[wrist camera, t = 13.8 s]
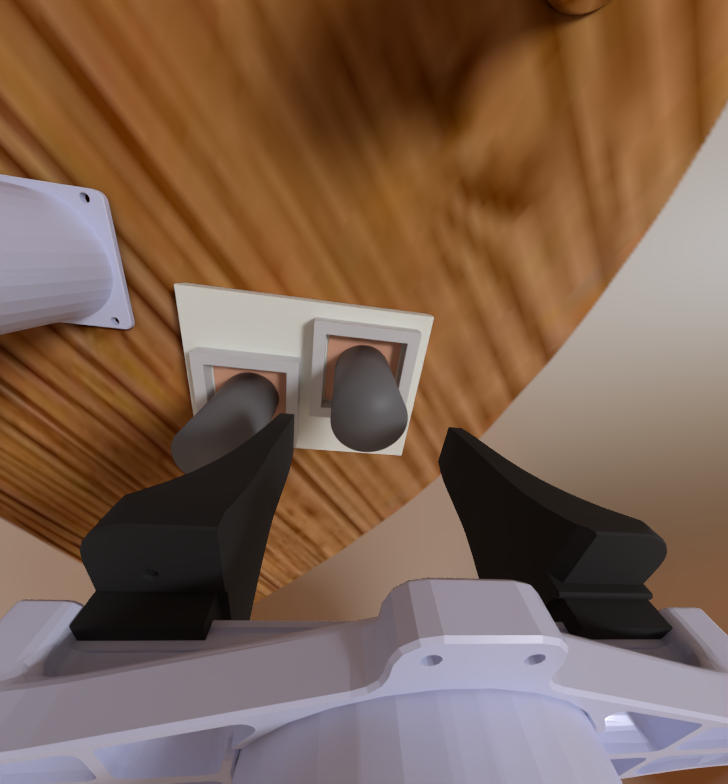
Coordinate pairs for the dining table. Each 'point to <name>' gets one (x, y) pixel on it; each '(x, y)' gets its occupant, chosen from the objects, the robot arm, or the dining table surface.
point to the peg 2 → (366, 401)
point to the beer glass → (577, 6)
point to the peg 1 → (225, 421)
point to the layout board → (294, 350)
